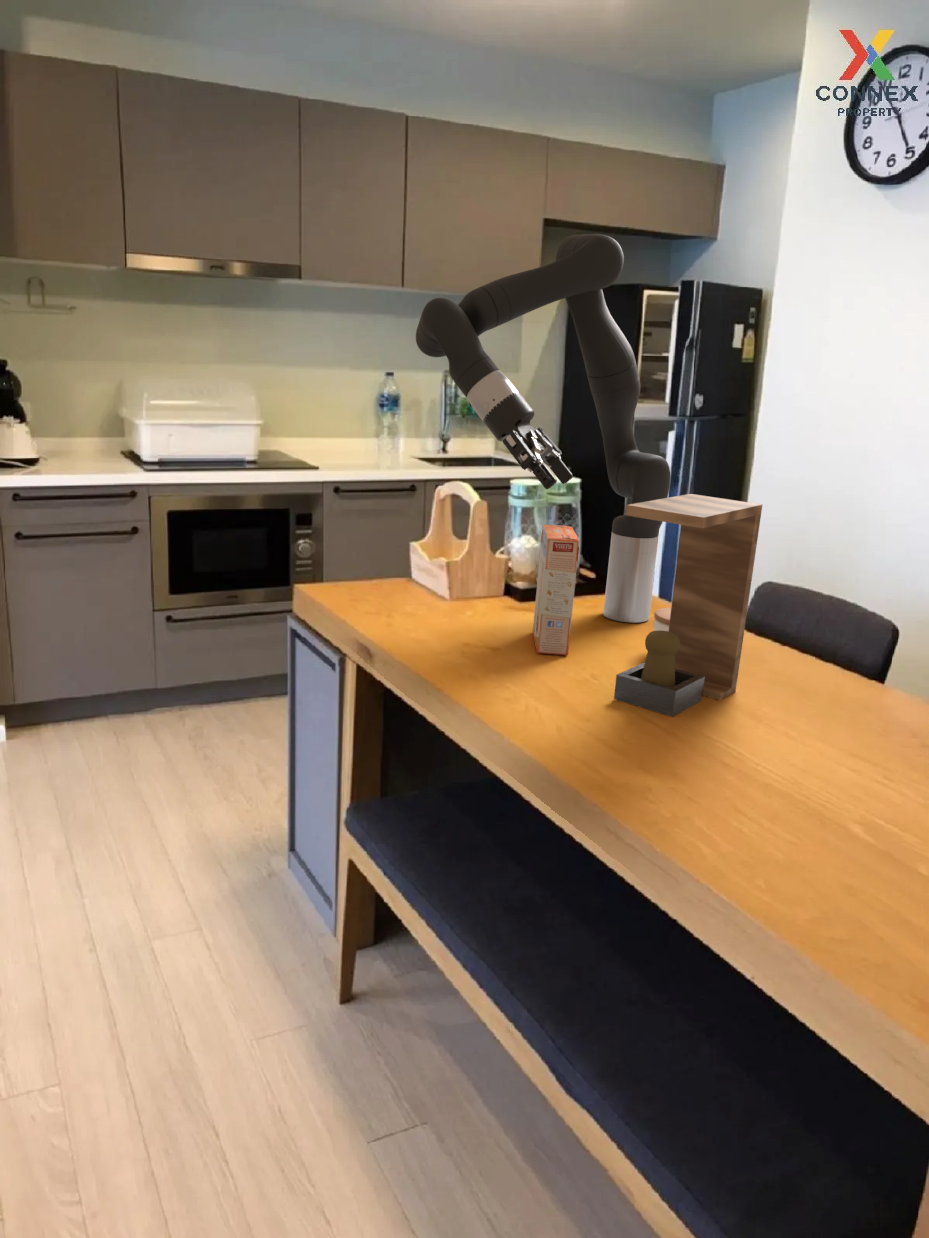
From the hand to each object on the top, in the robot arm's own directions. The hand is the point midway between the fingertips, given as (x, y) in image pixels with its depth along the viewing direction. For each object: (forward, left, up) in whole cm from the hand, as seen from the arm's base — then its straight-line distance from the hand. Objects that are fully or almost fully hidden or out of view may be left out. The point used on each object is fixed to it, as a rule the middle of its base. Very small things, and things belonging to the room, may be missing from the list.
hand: (560, 483), depth 158 cm
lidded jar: (-22, +15, -31) cm, 40 cm away
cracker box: (-10, -5, -31) cm, 33 cm away
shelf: (-1, +24, -31) cm, 39 cm away
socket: (+2, +23, -31) cm, 38 cm away
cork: (+3, +22, -31) cm, 38 cm away
